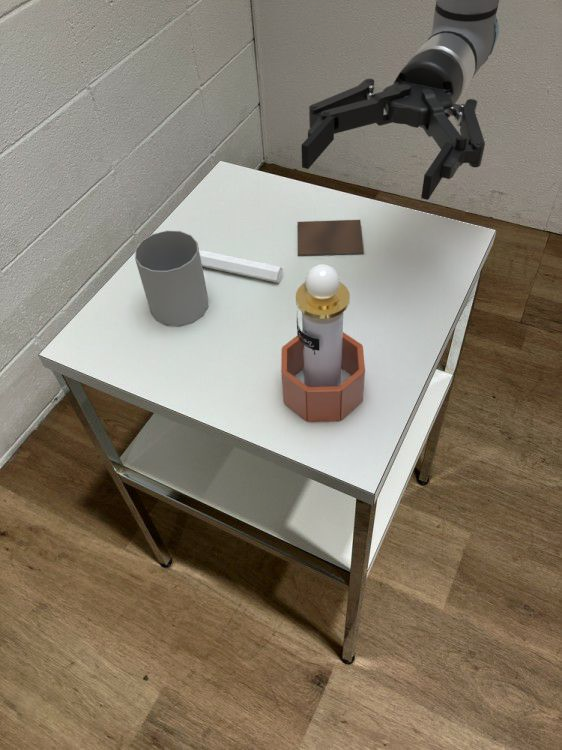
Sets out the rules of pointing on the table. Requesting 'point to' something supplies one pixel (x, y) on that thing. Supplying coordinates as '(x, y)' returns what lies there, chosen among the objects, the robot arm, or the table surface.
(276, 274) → the marker
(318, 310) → the perfume bottle
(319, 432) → the table surface
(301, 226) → the coaster
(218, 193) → the table surface
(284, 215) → the table surface
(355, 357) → the holder
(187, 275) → the cup
